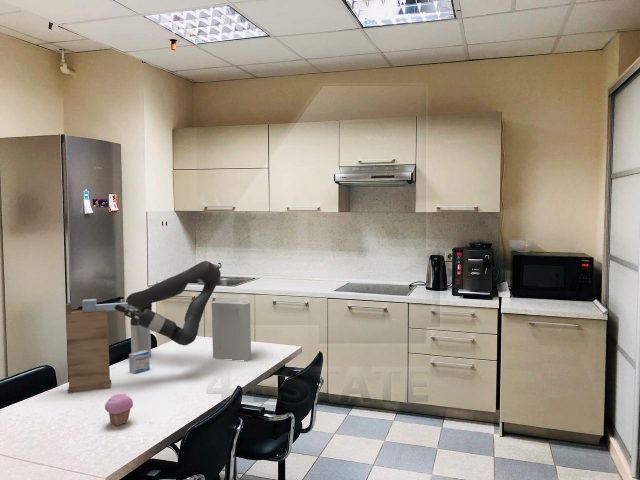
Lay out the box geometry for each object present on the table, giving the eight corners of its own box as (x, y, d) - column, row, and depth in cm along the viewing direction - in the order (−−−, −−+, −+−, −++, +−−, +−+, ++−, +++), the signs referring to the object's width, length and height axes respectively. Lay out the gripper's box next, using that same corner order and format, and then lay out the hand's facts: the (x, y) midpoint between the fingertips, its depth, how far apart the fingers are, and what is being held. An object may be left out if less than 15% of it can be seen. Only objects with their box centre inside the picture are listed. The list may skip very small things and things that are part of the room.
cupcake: (125, 416, 178) (124, 388, 178) (138, 422, 173) (137, 394, 172) (100, 424, 171) (99, 395, 171) (113, 431, 166) (112, 401, 165)
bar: (83, 311, 207) (83, 299, 207) (127, 307, 213) (127, 296, 212) (82, 313, 203) (82, 301, 202) (127, 309, 208) (127, 298, 208)
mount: (69, 387, 208) (66, 302, 205) (111, 382, 213) (108, 299, 211) (67, 393, 201) (64, 305, 199) (110, 388, 207) (107, 302, 204)
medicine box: (134, 374, 224) (134, 355, 224) (129, 372, 227) (128, 353, 227) (150, 369, 231) (149, 351, 230) (144, 367, 233) (143, 349, 233)
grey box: (260, 353, 255) (259, 299, 254) (247, 361, 241) (246, 304, 240) (226, 350, 261) (225, 297, 260) (212, 358, 247) (210, 302, 246)
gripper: (155, 310, 221) (120, 294, 216) (156, 316, 208) (119, 299, 203) (146, 325, 220) (111, 309, 215) (147, 332, 207) (110, 315, 202)
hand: (115, 304), depth 209 cm, fingers open, 8 cm apart
